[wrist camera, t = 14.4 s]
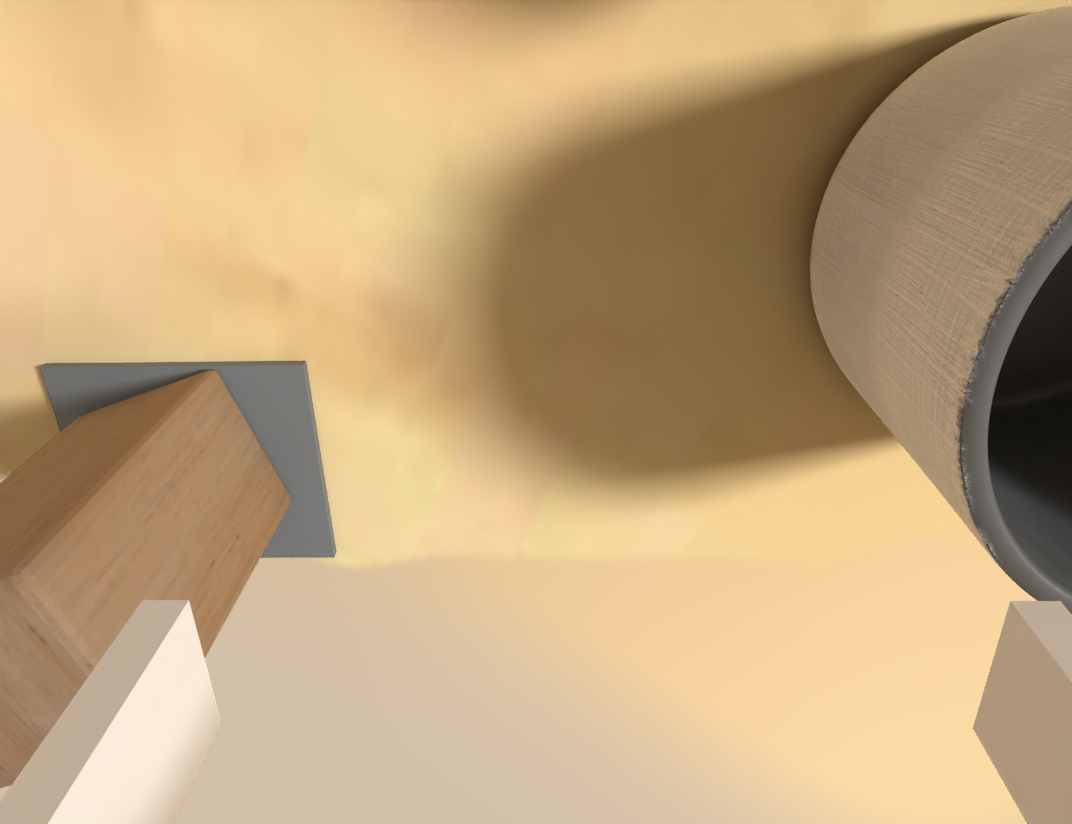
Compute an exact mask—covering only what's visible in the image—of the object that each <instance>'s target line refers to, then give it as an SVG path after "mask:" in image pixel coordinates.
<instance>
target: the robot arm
mask: <svg viewBox="0 0 1072 824" xmlns="http://www.w3.org/2000/svg"><path fill="white" fill-rule="evenodd" d="M220 725H221V719H220V715H219V711H218V708H217V704H216V700H215V696H214V692H213V689H212V685H211V681H210V677H209V674H208V670H207V666H206V662H205V659H204V655H203V651H202V647H201V643H200V640H199V636H198V632H197V628H196V625H195V621H194V617H193V613H192V610H191V606H190V602H189V600H143V601H142V602H141V603H140V605H139V606H138V608H137V609H136V610H135V612H134V613H133V615H132V616H131V617H130V619H129V620H128V622H127V623H126V624H125V626H124V627H123V629H122V630H121V632H120V633H119V634H118V636H117V637H116V639H115V640H114V641H113V643H112V644H111V646H110V647H109V648H108V650H107V651H106V653H105V654H104V655H103V657H102V658H101V660H100V661H99V663H98V664H97V665H96V667H95V668H94V670H93V671H92V672H91V674H90V675H89V677H88V678H87V679H86V681H85V682H84V684H83V685H82V687H81V688H80V689H79V691H78V692H77V694H76V695H75V696H74V698H73V699H72V701H71V702H70V703H69V705H68V706H67V708H66V709H65V710H64V712H63V713H62V715H61V716H60V718H59V719H58V720H57V722H56V723H55V725H54V726H53V727H52V729H51V730H50V732H49V733H48V734H47V736H46V737H45V739H44V740H43V741H42V743H41V744H40V746H39V747H38V749H37V750H36V751H35V753H34V754H33V756H32V757H31V758H30V760H29V761H28V763H27V764H26V765H25V767H24V768H23V770H22V771H21V773H20V774H19V775H18V777H17V778H16V780H15V781H14V782H13V784H12V785H11V787H10V788H9V789H8V791H7V792H6V794H5V795H4V796H3V798H2V799H1V801H0V824H174V822H175V820H176V818H177V816H178V813H179V811H180V809H181V807H182V805H183V803H184V801H185V799H186V797H187V795H188V793H189V790H190V788H191V786H192V784H193V782H194V780H195V778H196V776H197V774H198V772H199V769H200V767H201V765H202V763H203V761H204V759H205V757H206V755H207V753H208V751H209V749H210V746H211V744H212V742H213V740H214V738H215V736H216V734H217V732H218V730H219V728H220ZM973 729H974V731H975V733H976V734H977V736H978V738H979V740H980V741H981V743H982V745H983V747H984V748H985V750H986V752H987V754H988V755H989V757H990V759H991V761H992V762H993V764H994V766H995V768H996V769H997V771H998V773H999V775H1000V777H1001V778H1002V780H1003V782H1004V783H1005V785H1006V787H1007V789H1008V791H1009V792H1010V794H1011V796H1012V798H1013V799H1014V801H1015V803H1016V805H1017V806H1018V808H1019V810H1020V812H1021V813H1022V815H1023V817H1024V819H1025V820H1026V822H1027V824H1072V614H1071V613H1070V612H1069V611H1068V610H1067V608H1066V607H1065V606H1064V605H1063V604H1062V602H1061V601H1010V604H1009V607H1008V611H1007V614H1006V618H1005V621H1004V625H1003V628H1002V631H1001V635H1000V638H999V641H998V645H997V648H996V652H995V655H994V658H993V662H992V665H991V668H990V672H989V675H988V679H987V682H986V685H985V689H984V692H983V696H982V699H981V703H980V706H979V709H978V713H977V716H976V720H975V723H974V726H973Z"/></svg>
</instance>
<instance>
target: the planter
mask: <svg viewBox="0 0 1072 824" xmlns="http://www.w3.org/2000/svg"><path fill="white" fill-rule="evenodd" d="M810 284H811V293H812V300H813V306H814V310H815V314H816V318H817V321H818V324H819V327H820V329H821V332H822V335H823V337H824V339H825V342H826V344H827V346H828V348H829V350H830V352H831V354H832V356H833V358H834V359H835V361H836V363H837V364H838V366H839V367H840V369H841V370H842V372H843V373H844V375H845V376H846V377H847V379H848V380H849V381H850V383H851V384H852V385H853V387H854V388H855V389H856V390H857V391H858V393H859V394H860V395H861V396H862V398H863V399H864V400H865V401H866V403H867V404H868V405H869V406H870V407H871V409H872V410H873V411H874V412H875V413H876V415H877V416H878V417H879V418H880V420H881V421H882V422H883V423H884V424H885V426H886V427H887V428H888V429H889V430H890V432H891V433H892V434H893V435H894V436H895V438H896V439H897V440H898V441H899V442H900V444H901V445H902V446H903V447H904V448H905V450H906V451H907V452H908V453H909V455H910V456H911V457H912V458H913V459H914V461H915V462H916V463H917V464H918V466H919V467H920V468H921V469H922V470H923V472H924V473H925V474H926V475H927V477H928V478H929V479H930V480H931V482H932V483H933V484H934V485H935V487H936V488H937V489H938V490H939V492H940V493H941V494H942V495H943V497H944V498H945V499H946V500H947V502H948V503H949V504H950V505H951V507H952V508H953V509H954V510H955V512H956V513H957V514H958V515H959V517H960V518H961V519H962V520H963V522H964V523H965V524H966V526H967V527H968V528H969V529H970V531H971V532H972V533H973V534H974V535H975V537H976V538H977V540H978V541H979V542H980V543H981V545H982V546H983V547H984V548H985V550H986V551H987V552H988V553H989V555H990V556H991V557H992V558H993V559H994V561H995V562H996V563H997V564H998V565H999V566H1000V568H1001V569H1002V570H1003V571H1004V572H1005V573H1006V574H1007V575H1008V576H1009V577H1010V578H1011V579H1012V580H1013V581H1014V582H1015V583H1016V584H1017V585H1019V586H1020V587H1021V588H1022V589H1023V590H1024V591H1026V592H1027V593H1028V594H1029V595H1031V596H1032V597H1033V598H1035V599H1036V600H1037V601H1061V602H1062V604H1063V605H1064V606H1065V607H1066V608H1067V610H1068V611H1069V612H1070V613H1071V614H1072V6H1069V7H1062V8H1056V9H1050V10H1045V11H1040V12H1036V13H1032V14H1028V15H1025V16H1021V17H1018V18H1014V19H1011V20H1008V21H1005V22H1002V23H999V24H996V25H994V26H991V27H989V28H987V29H984V30H982V31H980V32H978V33H976V34H974V35H972V36H970V37H968V38H966V39H964V40H962V41H960V42H958V43H957V44H955V45H953V46H951V47H950V48H948V49H946V50H945V51H943V52H941V53H940V54H938V55H937V56H935V57H934V58H932V59H931V60H930V61H928V62H927V63H925V64H924V65H923V66H921V67H920V68H919V69H917V70H916V71H915V72H914V73H913V74H911V75H910V76H909V77H908V78H907V79H905V80H904V81H903V82H902V83H901V84H900V85H899V86H898V87H897V88H896V89H895V90H894V91H893V92H892V93H891V94H890V95H889V96H888V97H887V98H886V99H885V100H884V101H883V102H882V103H881V104H880V105H879V106H878V107H877V108H876V109H875V110H874V112H873V113H872V114H871V115H870V116H869V118H868V119H867V120H866V121H865V123H864V124H863V125H862V127H861V128H860V129H859V131H858V132H857V134H856V135H855V136H854V138H853V139H852V141H851V142H850V144H849V146H848V147H847V149H846V150H845V152H844V154H843V156H842V157H841V159H840V161H839V163H838V165H837V166H836V168H835V170H834V172H833V174H832V176H831V179H830V181H829V183H828V185H827V188H826V190H825V193H824V196H823V199H822V201H821V205H820V208H819V211H818V215H817V219H816V223H815V227H814V232H813V237H812V244H811V253H810Z"/></svg>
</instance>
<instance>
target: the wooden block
mask: <svg viewBox="0 0 1072 824" xmlns="http://www.w3.org/2000/svg"><path fill="white" fill-rule="evenodd" d="M290 503H291V498H290V494H289V492H288V491H287V489H286V487H285V486H284V484H283V482H282V480H281V479H280V477H279V475H278V474H277V472H276V470H275V468H274V467H273V465H272V463H271V462H270V460H269V458H268V456H267V455H266V453H265V451H264V450H263V448H262V446H261V444H260V443H259V441H258V439H257V438H256V436H255V434H254V432H253V431H252V429H251V427H250V426H249V424H248V422H247V420H246V419H245V417H244V415H243V414H242V412H241V410H240V408H239V407H238V405H237V403H236V402H235V400H234V398H233V396H232V395H231V393H230V391H229V390H228V388H227V386H226V384H225V383H224V381H223V379H222V378H221V376H220V374H219V373H218V372H217V371H216V370H209V371H205V372H202V373H199V374H197V375H194V376H191V377H188V378H185V379H183V380H180V381H177V382H174V383H171V384H168V385H166V386H163V387H160V388H157V389H154V390H151V391H149V392H146V393H143V394H140V395H137V396H135V397H132V398H129V399H126V400H123V401H120V402H118V403H115V404H112V405H109V406H106V407H104V408H101V409H98V410H95V411H92V412H89V413H87V414H84V415H81V416H79V417H78V418H77V419H76V420H75V421H73V422H72V423H71V424H70V425H69V426H67V427H66V428H65V429H64V430H63V431H62V432H60V433H59V434H58V435H57V436H56V437H54V438H53V439H52V440H51V441H50V442H49V443H47V444H46V445H45V446H44V447H43V448H41V449H40V450H39V451H38V452H37V453H36V454H34V455H33V456H32V457H31V458H30V459H28V460H27V461H26V462H25V463H24V464H23V465H21V466H20V467H19V468H18V469H17V470H15V471H14V472H13V473H12V474H11V475H10V476H8V477H7V478H6V479H5V480H4V481H2V482H1V483H0V788H2V787H6V786H10V785H12V784H13V782H14V781H15V780H16V778H17V777H18V775H19V774H20V773H21V771H22V770H23V768H24V767H25V765H26V764H27V763H28V761H29V760H30V758H31V757H32V756H33V754H34V753H35V751H36V750H37V749H38V747H39V746H40V744H41V743H42V741H43V740H44V739H45V737H46V736H47V734H48V733H49V732H50V730H51V729H52V727H53V726H54V725H55V723H56V722H57V720H58V719H59V718H60V716H61V715H62V713H63V712H64V710H65V709H66V708H67V706H68V705H69V703H70V702H71V701H72V699H73V698H74V696H75V695H76V694H77V692H78V691H79V689H80V688H81V687H82V685H83V684H84V682H85V681H86V679H87V678H88V677H89V675H90V674H91V672H92V671H93V670H94V668H95V667H96V665H97V664H98V663H99V661H100V660H101V658H102V657H103V655H104V654H105V653H106V651H107V650H108V648H109V647H110V646H111V644H112V643H113V641H114V640H115V639H116V637H117V636H118V634H119V633H120V632H121V630H122V629H123V627H124V626H125V624H126V623H127V622H128V620H129V619H130V617H131V616H132V615H133V613H134V612H135V610H136V609H137V608H138V606H139V605H140V603H141V602H142V601H143V600H189V602H190V606H191V610H192V613H193V617H194V621H195V625H196V628H197V632H198V636H199V640H200V643H201V647H202V651H203V655H204V659H205V657H206V655H207V653H208V652H209V650H210V648H211V646H212V644H213V642H214V641H215V639H216V637H217V635H218V633H219V632H220V630H221V628H222V626H223V624H224V622H225V621H226V619H227V617H228V615H229V613H230V612H231V610H232V608H233V606H234V604H235V602H236V601H237V599H238V597H239V595H240V593H241V591H242V590H243V588H244V586H245V584H246V583H247V581H248V579H249V577H250V575H251V573H252V572H253V570H254V568H255V566H256V564H257V563H258V561H259V559H260V557H261V555H262V553H263V552H264V550H265V548H266V546H267V544H268V543H269V541H270V539H271V537H272V535H273V533H274V532H275V530H276V528H277V526H278V524H279V523H280V521H281V519H282V517H283V515H284V513H285V512H286V510H287V508H288V506H289V504H290Z"/></svg>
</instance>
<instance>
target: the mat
mask: <svg viewBox="0 0 1072 824" xmlns="http://www.w3.org/2000/svg"><path fill="white" fill-rule="evenodd" d="M40 369H41V372H42V375H43V378H44V382H45V385H46V388H47V391H48V394H49V397H50V400H51V404H52V407H53V410H54V413H55V416H56V419H57V423H58V426H59V429H60V432H62V431H63V430H64V429H65V428H66V427H67V426H69V425H70V424H71V423H72V422H73V421H75V420H76V419H77V418H78V417H79V416H81V415H84V414H87V413H89V412H92V411H95V410H98V409H101V408H104V407H106V406H109V405H112V404H115V403H118V402H120V401H123V400H126V399H129V398H132V397H135V396H137V395H140V394H143V393H146V392H149V391H151V390H154V389H157V388H160V387H163V386H166V385H168V384H171V383H174V382H177V381H180V380H183V379H185V378H188V377H191V376H194V375H197V374H199V373H202V372H205V371H209V370H216V371H217V372H218V373H219V374H220V376H221V378H222V379H223V381H224V383H225V384H226V386H227V388H228V390H229V391H230V393H231V395H232V396H233V398H234V400H235V402H236V403H237V405H238V407H239V408H240V410H241V412H242V414H243V415H244V417H245V419H246V420H247V422H248V424H249V426H250V427H251V429H252V431H253V432H254V434H255V436H256V438H257V439H258V441H259V443H260V444H261V446H262V448H263V450H264V451H265V453H266V455H267V456H268V458H269V460H270V462H271V463H272V465H273V467H274V468H275V470H276V472H277V474H278V475H279V477H280V479H281V480H282V482H283V484H284V486H285V487H286V489H287V491H288V492H289V494H290V498H291V503H290V504H289V506H288V508H287V510H286V512H285V513H284V515H283V517H282V519H281V521H280V523H279V524H278V526H277V528H276V530H275V532H274V533H273V535H272V537H271V539H270V541H269V543H268V544H267V546H266V548H265V550H264V552H263V553H262V555H261V557H260V558H264V557H265V558H267V557H334V556H335V554H336V547H335V541H334V535H333V528H332V522H331V516H330V510H329V503H328V497H327V491H326V485H325V478H324V472H323V466H322V460H321V453H320V447H319V441H318V435H317V428H316V422H315V416H314V410H313V403H312V397H311V391H310V385H309V378H308V372H307V366H306V361H267V362H165V363H63V364H45V365H43V366H42V367H40Z"/></svg>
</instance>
